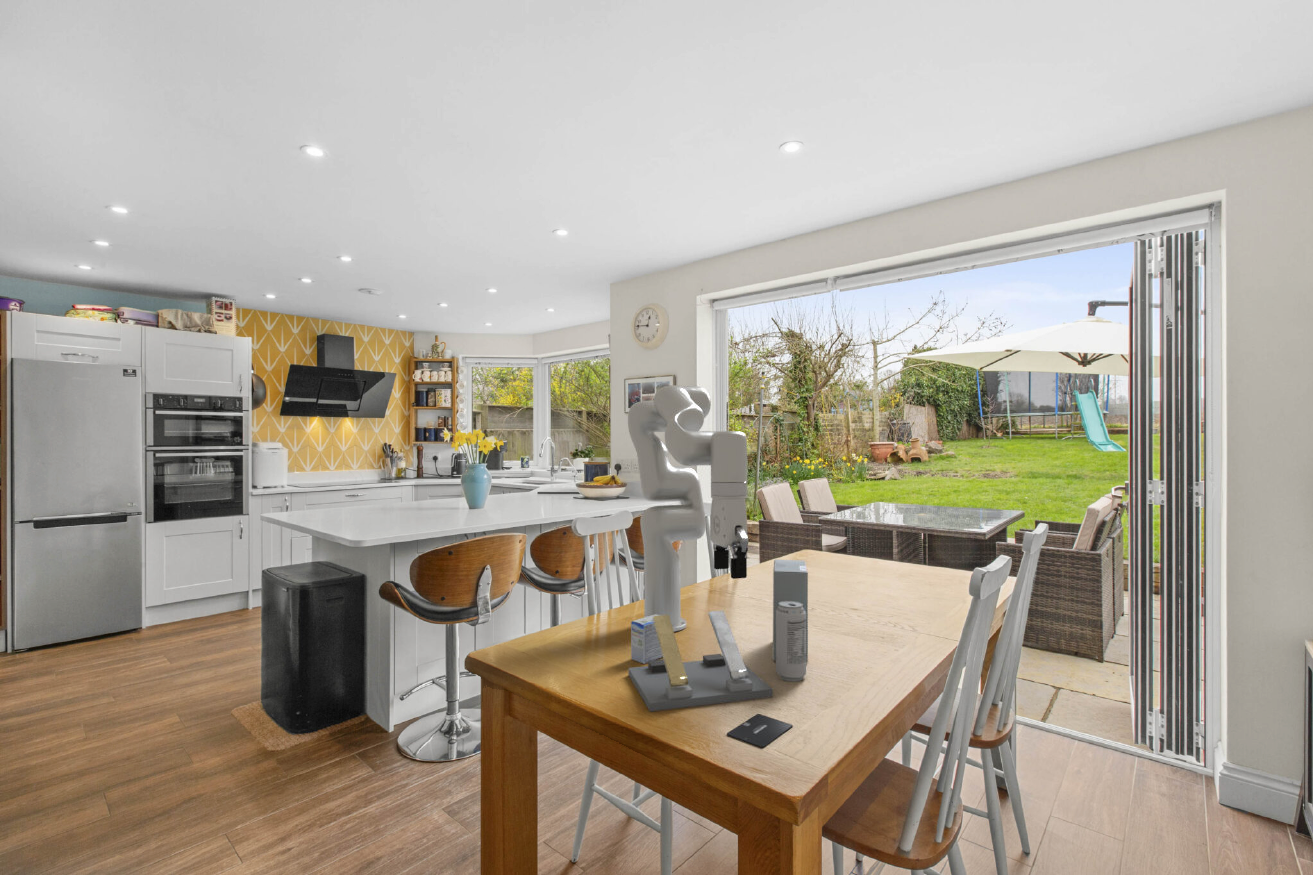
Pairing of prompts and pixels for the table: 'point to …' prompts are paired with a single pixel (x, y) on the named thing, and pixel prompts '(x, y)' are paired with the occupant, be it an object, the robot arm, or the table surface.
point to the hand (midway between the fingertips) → (729, 573)
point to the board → (695, 684)
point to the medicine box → (644, 640)
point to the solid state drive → (759, 730)
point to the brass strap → (670, 651)
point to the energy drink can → (791, 641)
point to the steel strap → (728, 645)
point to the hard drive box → (790, 590)
